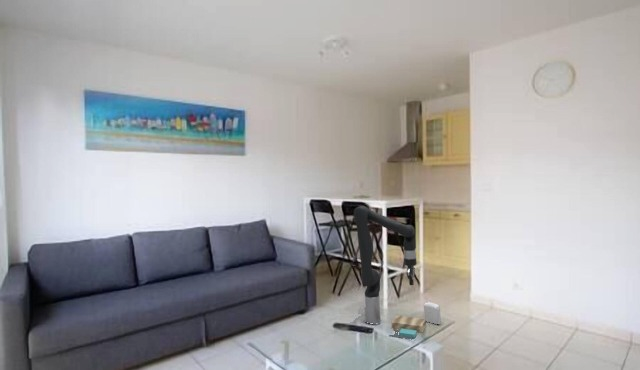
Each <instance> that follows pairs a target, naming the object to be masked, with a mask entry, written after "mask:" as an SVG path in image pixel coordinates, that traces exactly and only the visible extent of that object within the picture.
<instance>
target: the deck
mask: <svg viewBox="0 0 640 370" xmlns="http://www.w3.org/2000/svg"><path fill="white" fill-rule="evenodd" d="M426 326H427V322H426V319H425V318H422V317H421V318H419V317H413V316H407V315H406V316H404V315H399V314H397V315H396V316H395V318H394V319H392V321H391V329H392V328H393V329H392V330H394V329H396V330H397V329H398V330H401V329H409V330H416V331H417V334H419V333H420V334H423V332H424V330H425V328H426Z"/></svg>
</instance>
